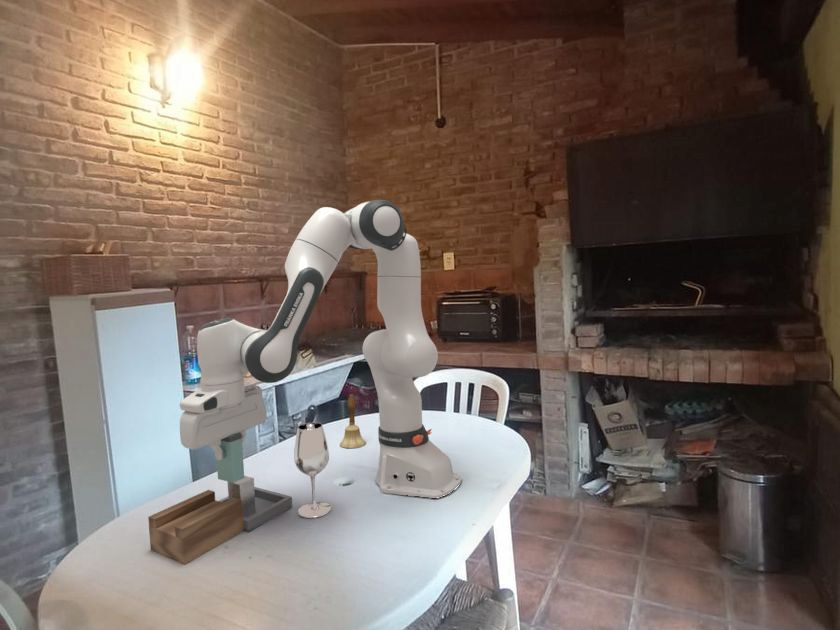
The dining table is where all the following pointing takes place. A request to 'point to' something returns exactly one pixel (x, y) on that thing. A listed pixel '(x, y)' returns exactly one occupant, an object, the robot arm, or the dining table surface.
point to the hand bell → (352, 429)
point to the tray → (265, 508)
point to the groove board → (195, 526)
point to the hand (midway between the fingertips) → (229, 454)
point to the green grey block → (231, 459)
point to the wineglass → (311, 463)
